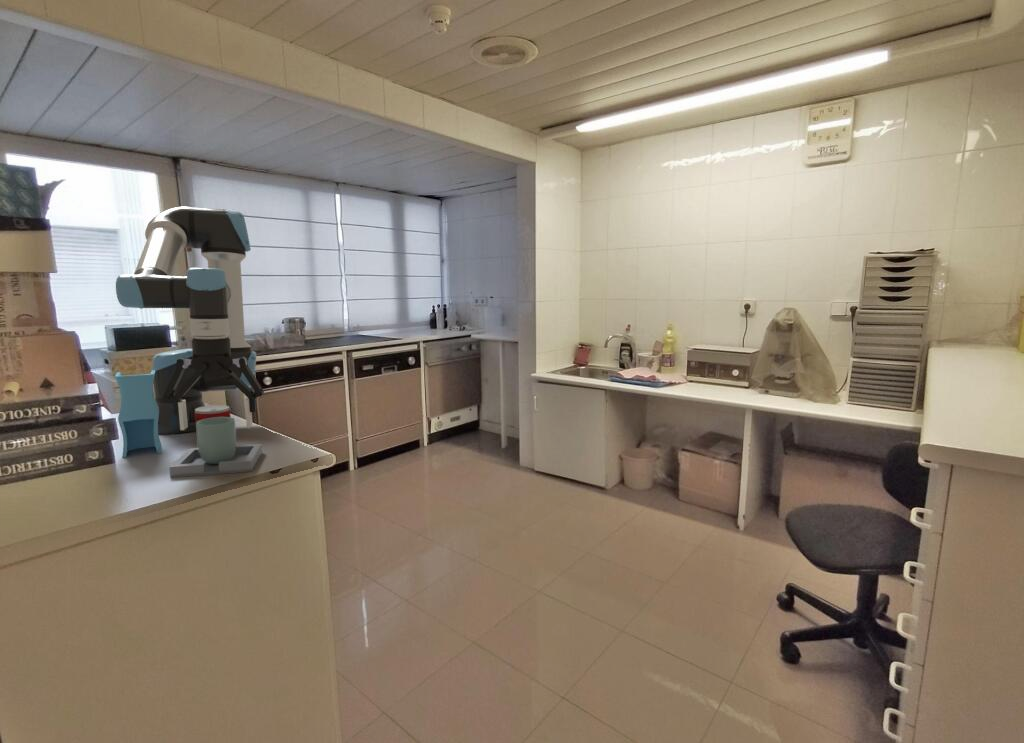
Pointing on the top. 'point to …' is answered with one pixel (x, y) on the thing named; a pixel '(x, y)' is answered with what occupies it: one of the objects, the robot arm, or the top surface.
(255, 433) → the top surface
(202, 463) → the grey square tray
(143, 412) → the blue wavy stand
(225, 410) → the canned food
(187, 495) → the top surface
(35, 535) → the top surface
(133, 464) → the top surface
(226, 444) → the cup
